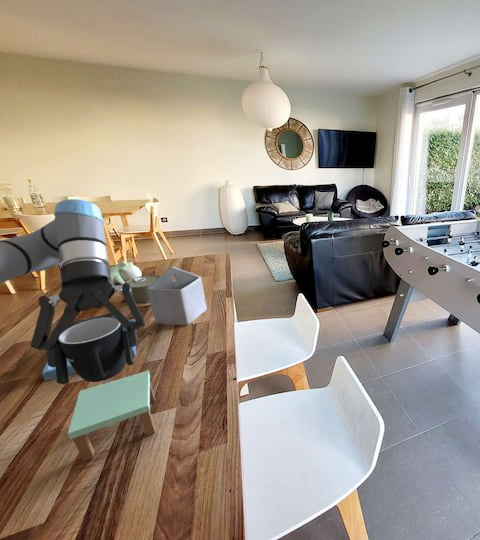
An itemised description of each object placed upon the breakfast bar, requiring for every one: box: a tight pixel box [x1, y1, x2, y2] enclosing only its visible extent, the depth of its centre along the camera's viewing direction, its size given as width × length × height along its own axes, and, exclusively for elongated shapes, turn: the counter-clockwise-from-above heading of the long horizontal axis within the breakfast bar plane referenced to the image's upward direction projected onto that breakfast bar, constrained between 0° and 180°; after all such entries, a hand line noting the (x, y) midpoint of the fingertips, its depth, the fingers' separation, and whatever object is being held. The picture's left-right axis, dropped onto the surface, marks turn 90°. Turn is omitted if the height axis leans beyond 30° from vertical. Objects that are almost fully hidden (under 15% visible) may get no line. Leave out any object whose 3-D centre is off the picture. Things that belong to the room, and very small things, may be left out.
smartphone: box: [71, 312, 116, 327], centre depth 96 cm, size 8×1×15 cm
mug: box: [59, 318, 127, 383], centre depth 56 cm, size 12×9×10 cm
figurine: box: [109, 259, 143, 286], centre depth 124 cm, size 10×16×10 cm, turn 134°
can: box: [125, 274, 161, 304], centre depth 116 cm, size 12×12×7 cm
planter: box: [147, 266, 208, 326], centre depth 98 cm, size 16×8×19 cm, turn 131°
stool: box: [67, 370, 156, 462], centre depth 61 cm, size 12×12×8 cm
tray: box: [41, 318, 138, 382], centre depth 85 cm, size 19×20×2 cm
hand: (98, 372), depth 54 cm, fingers closed on mug, 9 cm apart
